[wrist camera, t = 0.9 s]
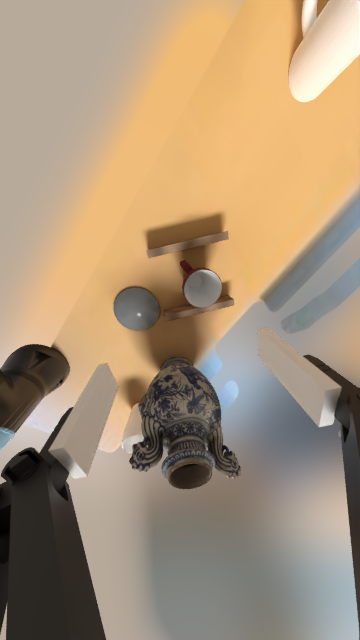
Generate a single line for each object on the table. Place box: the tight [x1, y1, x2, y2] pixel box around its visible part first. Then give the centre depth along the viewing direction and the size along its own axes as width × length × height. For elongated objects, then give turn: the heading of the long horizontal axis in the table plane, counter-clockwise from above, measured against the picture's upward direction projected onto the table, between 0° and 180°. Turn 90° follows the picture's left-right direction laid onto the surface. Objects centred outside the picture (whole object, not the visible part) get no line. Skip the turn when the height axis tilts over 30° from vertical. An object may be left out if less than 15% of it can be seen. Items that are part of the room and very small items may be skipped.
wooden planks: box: [146, 231, 234, 321], centre depth 41 cm, size 18×17×4 cm
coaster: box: [114, 288, 160, 330], centre depth 45 cm, size 12×12×1 cm
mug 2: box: [288, 0, 360, 102], centre depth 24 cm, size 8×12×12 cm
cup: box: [122, 403, 148, 454], centre depth 54 cm, size 9×9×12 cm
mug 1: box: [180, 260, 222, 308], centre depth 38 cm, size 11×8×10 cm
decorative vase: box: [129, 357, 241, 489], centre depth 41 cm, size 21×19×28 cm
